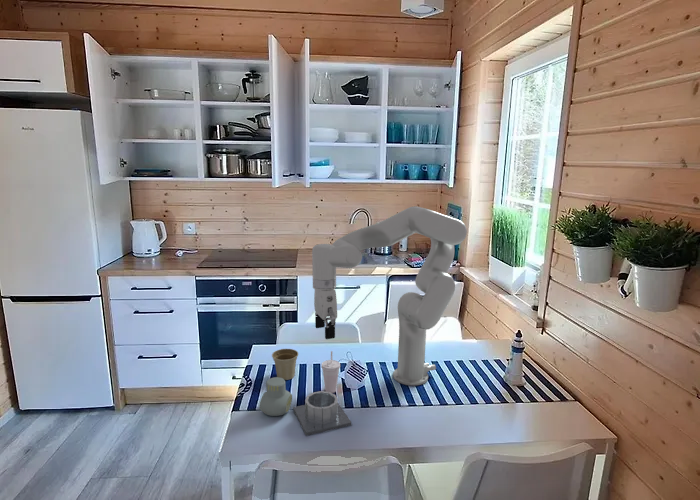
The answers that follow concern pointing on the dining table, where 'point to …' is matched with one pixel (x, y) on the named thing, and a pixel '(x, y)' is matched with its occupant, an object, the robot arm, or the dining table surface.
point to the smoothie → (330, 374)
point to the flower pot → (285, 363)
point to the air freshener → (275, 398)
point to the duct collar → (321, 413)
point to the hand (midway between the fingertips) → (324, 332)
